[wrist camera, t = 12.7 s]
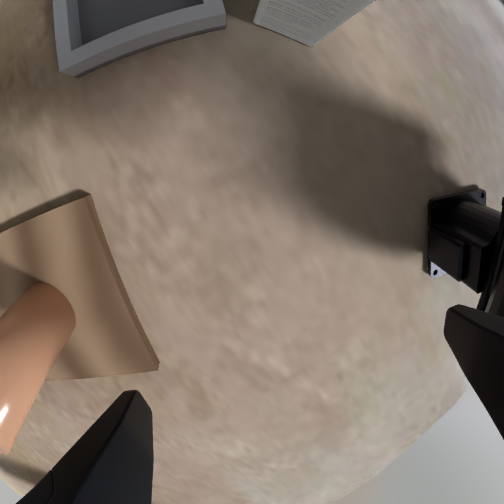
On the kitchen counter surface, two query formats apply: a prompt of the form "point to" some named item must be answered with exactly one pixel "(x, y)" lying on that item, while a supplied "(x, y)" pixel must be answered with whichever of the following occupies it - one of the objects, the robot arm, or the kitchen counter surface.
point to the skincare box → (306, 17)
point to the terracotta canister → (29, 352)
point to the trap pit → (125, 28)
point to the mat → (77, 290)
